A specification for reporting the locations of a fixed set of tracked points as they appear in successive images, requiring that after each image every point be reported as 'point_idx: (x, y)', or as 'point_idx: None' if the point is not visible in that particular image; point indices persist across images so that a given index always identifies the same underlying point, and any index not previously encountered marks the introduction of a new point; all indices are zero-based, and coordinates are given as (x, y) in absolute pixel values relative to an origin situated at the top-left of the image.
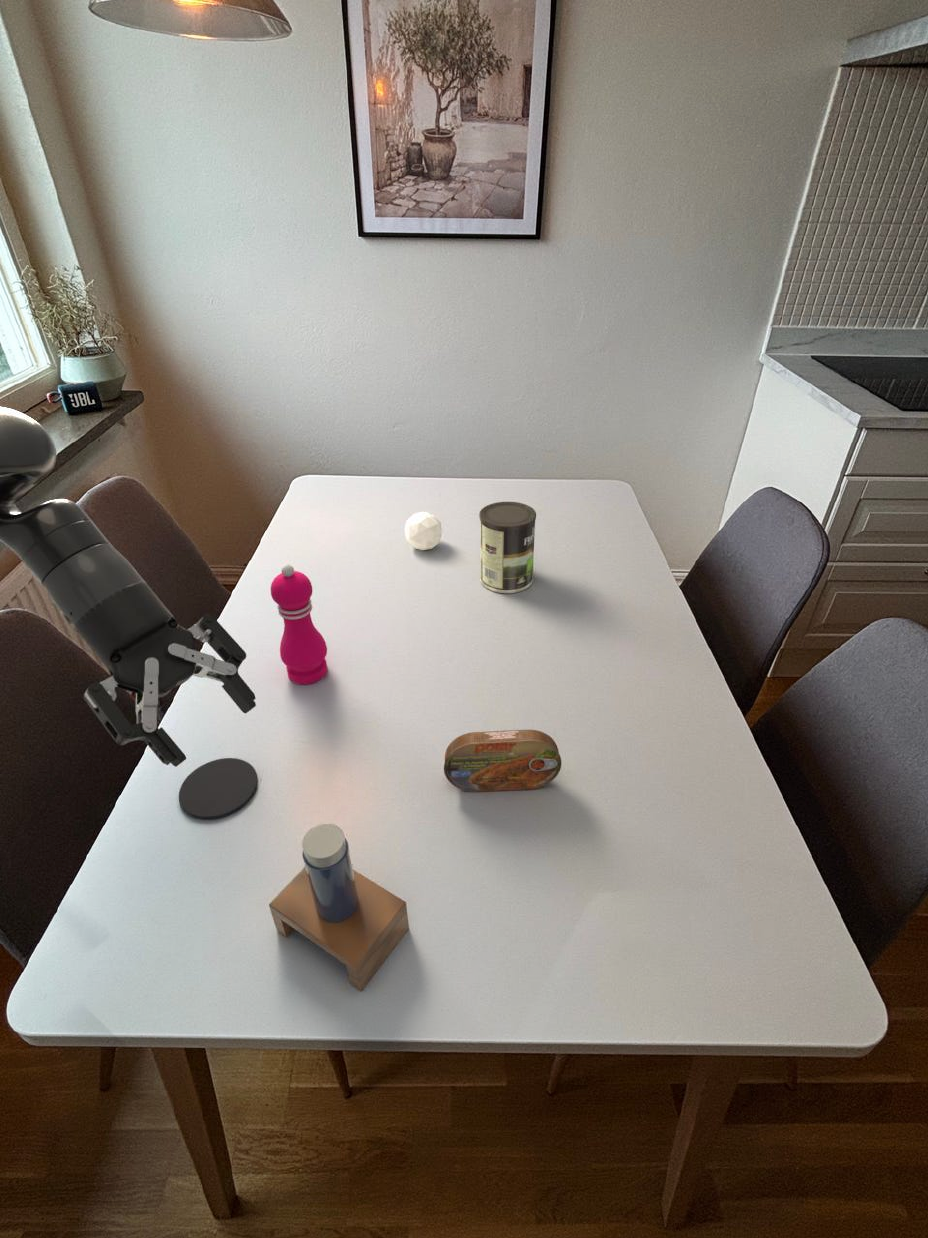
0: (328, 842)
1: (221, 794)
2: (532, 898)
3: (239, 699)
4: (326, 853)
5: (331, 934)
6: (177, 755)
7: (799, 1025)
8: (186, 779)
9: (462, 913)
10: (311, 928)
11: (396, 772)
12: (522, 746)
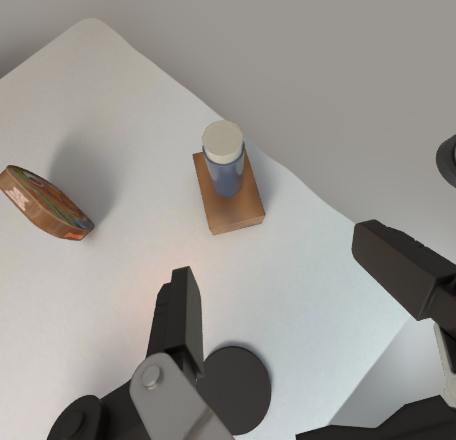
0: (220, 132)
1: (235, 375)
2: (133, 137)
3: (193, 301)
4: (228, 124)
5: (243, 167)
6: (378, 225)
7: (108, 32)
8: (253, 427)
9: (168, 156)
10: (251, 179)
11: (111, 279)
12: (21, 182)
